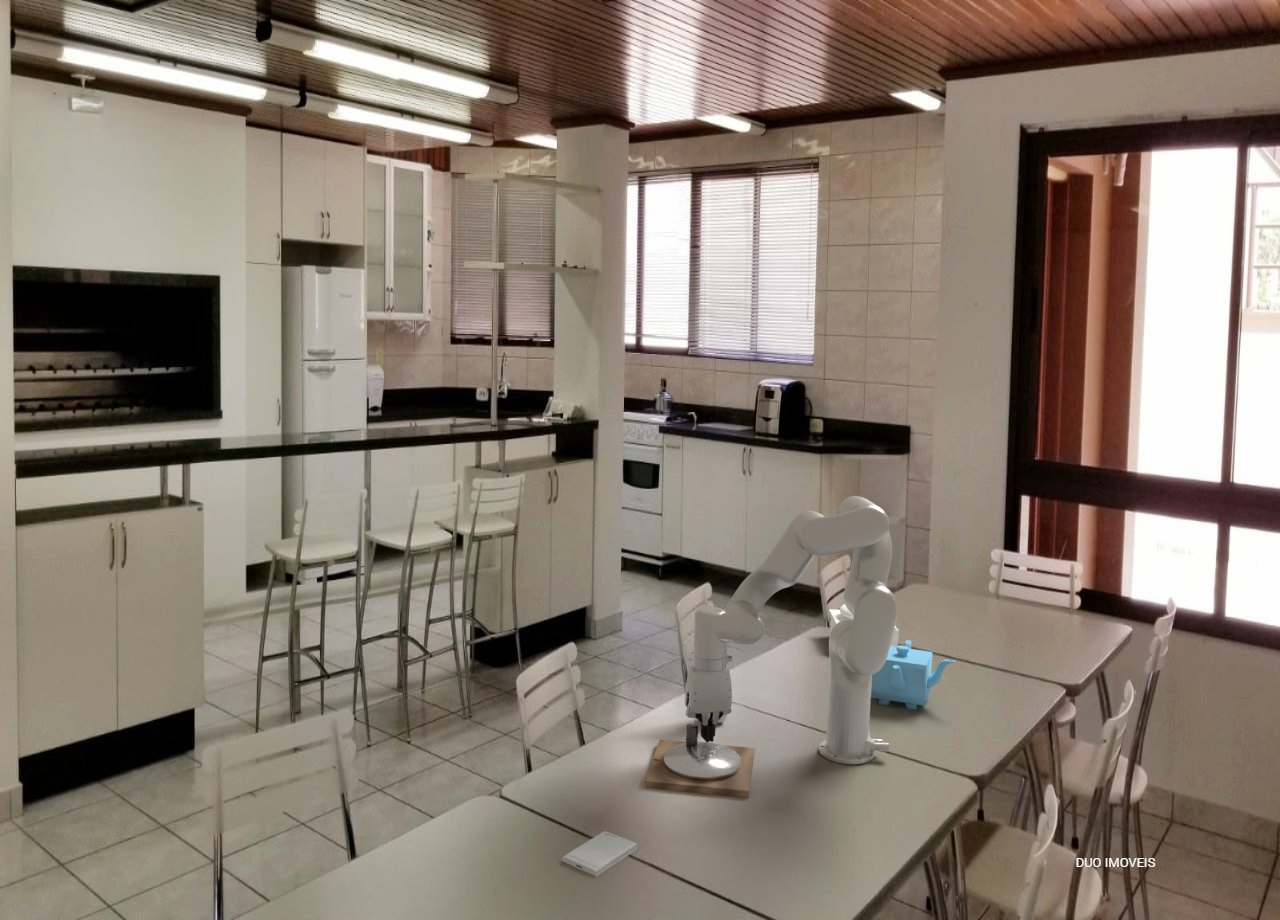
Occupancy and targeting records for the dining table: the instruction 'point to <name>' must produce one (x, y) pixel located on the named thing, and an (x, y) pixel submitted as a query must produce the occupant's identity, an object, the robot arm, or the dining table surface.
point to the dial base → (726, 786)
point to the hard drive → (600, 853)
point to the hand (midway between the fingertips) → (707, 739)
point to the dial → (701, 758)
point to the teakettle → (906, 676)
